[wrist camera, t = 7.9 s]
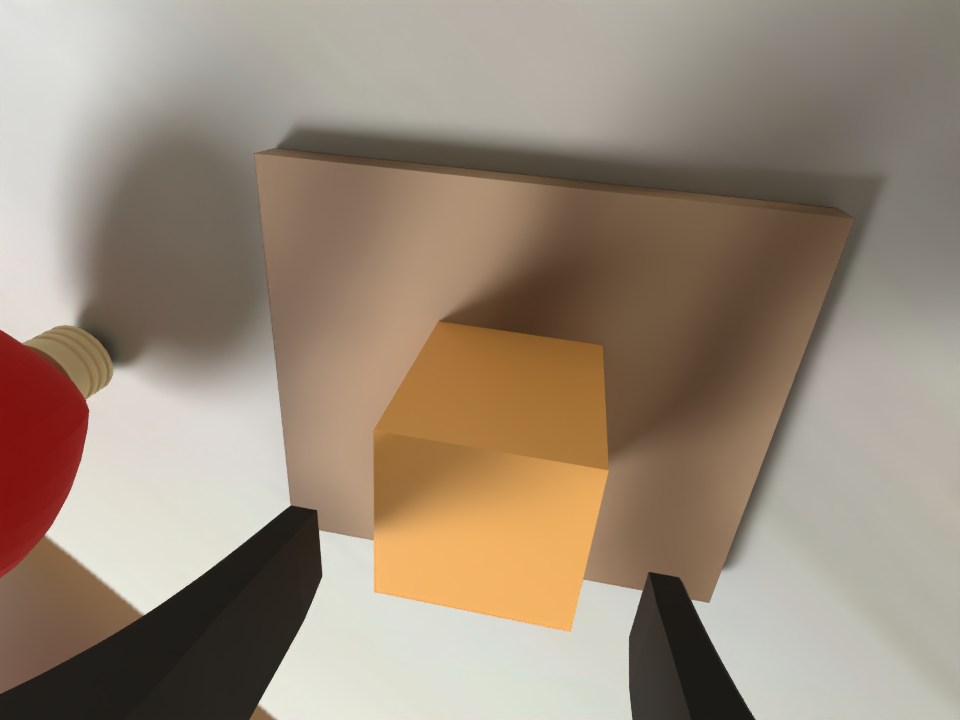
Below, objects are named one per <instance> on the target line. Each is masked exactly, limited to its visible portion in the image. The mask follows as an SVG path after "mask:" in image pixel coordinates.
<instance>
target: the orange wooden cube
mask: <svg viewBox="0 0 960 720" xmlns="http://www.w3.org/2000/svg"><path fill="white" fill-rule="evenodd" d="M373 443H374V592H377V593H382V594H387V595H392V596H397V597H402V598H406V599H411V600H416V601H421V602H426V603H431V604H436V605H441V606H446V607H451V608H456V609H461V610H466V611H470V612H475V613H480V614H485V615H490V616H495V617H500V618H505V619H510V620H515V621H520V622H525V623H530V624H534V625H539V626H544V627H549V628H554V629H559V630H564V631H569V632H571V628H572V624H573V620H574V615H575V611H576V607H577V603H578V598H579V594H580V590H581V586H582V581H583V577H584V573H585V569H586V564H587V560H588V556H589V552H590V548H591V543H592V539H593V535H594V531H595V526H596V522H597V518H598V514H599V509H600V505H601V501H602V497H603V492H604V488H605V484H606V480H607V476H608V471H609V466H608V445H607V424H606V403H605V381H604V360H603V345H597V344H590V343H583V342H577V341H570V340H563V339H556V338H549V337H543V336H536V335H529V334H522V333H515V332H508V331H502V330H495V329H488V328H481V327H474V326H467V325H461V324H454V323H447V322H440V321H438V323H437V324H436V326H435V328H434V329H433V331H432V333H431V335H430V336H429V338H428V340H427V341H426V343H425V345H424V346H423V348H422V350H421V351H420V353H419V355H418V356H417V358H416V360H415V361H414V363H413V365H412V366H411V368H410V370H409V371H408V373H407V375H406V376H405V378H404V380H403V381H402V383H401V385H400V387H399V388H398V390H397V392H396V393H395V395H394V397H393V398H392V400H391V402H390V403H389V405H388V407H387V408H386V410H385V412H384V413H383V415H382V417H381V418H380V420H379V422H378V423H377V425H376V427H375V428H374V430H373Z"/></svg>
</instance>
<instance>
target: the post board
mask: <svg viewBox="0 0 960 720" xmlns="http://www.w3.org/2000/svg"><path fill="white" fill-rule="evenodd" d="M254 158H255V167H256V177H257V187H258V196H259V206H260V215H261V225H262V234H263V244H264V254H265V263H266V273H267V282H268V292H269V302H270V311H271V321H272V330H273V340H274V350H275V359H276V369H277V378H278V388H279V397H280V407H281V417H282V426H283V436H284V445H285V455H286V465H287V474H288V484H289V493H290V503H291V505H292V506H298V507H303V508H309V509H314V510H317V513H318V526H319V530H321V531H326V532H332V533H337V534H343V535H348V536H353V537H359V538H364V539H369V540H374V443H373V430H374V428H375V427H376V425H377V423H378V422H379V420H380V418H381V417H382V415H383V413H384V412H385V410H386V408H387V407H388V405H389V403H390V402H391V400H392V398H393V397H394V395H395V393H396V392H397V390H398V388H399V387H400V385H401V383H402V381H403V380H404V378H405V376H406V375H407V373H408V371H409V370H410V368H411V366H412V365H413V363H414V361H415V360H416V358H417V356H418V355H419V353H420V351H421V350H422V348H423V346H424V345H425V343H426V341H427V340H428V338H429V336H430V335H431V333H432V331H433V329H434V328H435V326H436V324H437V323H438V321H440V322H447V323H454V324H461V325H467V326H474V327H481V328H488V329H495V330H502V331H508V332H515V333H522V334H529V335H536V336H543V337H549V338H556V339H563V340H570V341H577V342H583V343H590V344H597V345H603V360H604V381H605V403H606V424H607V445H608V466H609V471H608V476H607V480H606V484H605V488H604V492H603V497H602V501H601V505H600V509H599V514H598V518H597V522H596V526H595V531H594V535H593V539H592V543H591V548H590V552H589V556H588V560H587V564H586V569H585V573H584V577H583V579H584V580H589V581H595V582H600V583H605V584H611V585H616V586H621V587H627V588H632V589H638V590H643V589H644V586H645V582H646V579H647V575H648V572H653V573H659V574H664V575H670V576H675V577H679V578H680V579H681V581H682V582H683V584H684V586H685V588H686V590H687V593H688V595H689V597H690V599H691V600H697V601H702V602H707V603H709V602H710V599H711V597H712V594H713V592H714V589H715V586H716V584H717V581H718V578H719V576H720V573H721V570H722V568H723V565H724V563H725V560H726V557H727V555H728V552H729V549H730V547H731V544H732V541H733V539H734V536H735V534H736V531H737V528H738V526H739V523H740V520H741V518H742V515H743V512H744V510H745V507H746V505H747V502H748V499H749V497H750V494H751V491H752V489H753V486H754V483H755V481H756V478H757V476H758V473H759V470H760V468H761V465H762V462H763V460H764V457H765V454H766V452H767V449H768V447H769V444H770V441H771V439H772V436H773V433H774V431H775V428H776V425H777V423H778V420H779V418H780V415H781V412H782V410H783V407H784V404H785V402H786V399H787V397H788V394H789V391H790V389H791V386H792V383H793V381H794V378H795V375H796V373H797V370H798V368H799V365H800V362H801V360H802V357H803V354H804V352H805V349H806V346H807V344H808V341H809V339H810V336H811V333H812V331H813V328H814V325H815V323H816V320H817V317H818V315H819V312H820V310H821V307H822V304H823V302H824V299H825V296H826V294H827V291H828V288H829V286H830V283H831V281H832V278H833V275H834V273H835V270H836V267H837V265H838V262H839V259H840V257H841V254H842V252H843V249H844V246H845V244H846V241H847V238H848V236H849V233H850V230H851V228H852V225H853V223H854V220H855V218H853V217H851V216H850V215H848V214H846V213H844V212H843V211H841V210H839V209H837V208H830V207H821V206H812V205H802V204H793V203H783V202H774V201H765V200H755V199H746V198H737V197H727V196H718V195H708V194H699V193H690V192H680V191H671V190H662V189H652V188H643V187H633V186H624V185H615V184H605V183H596V182H587V181H577V180H568V179H558V178H549V177H540V176H530V175H521V174H511V173H502V172H493V171H483V170H474V169H465V168H455V167H446V166H436V165H427V164H418V163H408V162H399V161H390V160H380V159H371V158H361V157H352V156H343V155H333V154H324V153H314V152H305V151H296V150H286V149H277V148H274V149H270V150H266V151H262V152H258V153H254Z"/></svg>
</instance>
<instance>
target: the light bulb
mask: <svg viewBox="0 0 960 720" xmlns="http://www.w3.org/2000/svg"><path fill="white" fill-rule="evenodd" d="M112 375H113V366H112V361H111V359H110V356H109V354H108V352H107V351H106V348H105V346H104V345H103V344H102V343H101V342H100V341H99V340H97V339H96V338H95V337H94V336H92V335H91V334H89V333H88V332H86V331H84V330H82V329H80V328H77V327H74V326H67V325H64V326H57V327H54V328H53V329H51V330H49V331H46V332H44V333H43V334H41V335H38V336H36V337H34V338H33V339H31V340H28V341H26V342H24V343H20V342H19V341H17V340H16V339H14V338H13V337H11V336H10V335H8V334H6V333H5V332H3V331H1V330H0V578H1V577H2V576H4V575H5V574H7V573H8V572H9V571H10V570H12V569H13V568H14V567H15V566H16V565H17V564H19V563H20V562H21V561H22V560H23V559H24V558H25V557H26V556H27V554H28V553H29V552H30V551H31V550H32V549H33V548H34V546H35V545H36V544H37V543H38V542H39V541H40V540H41V538H42V537H43V536H44V535H45V534H46V532H47V531H48V530H49V528H50V527H51V525H52V524H53V522H54V520H55V519H56V517H57V515H58V513H59V511H60V510H61V508H62V506H63V504H64V502H65V500H66V499H67V497H68V494H69V492H70V490H71V488H72V485H73V482H74V479H75V476H76V473H77V470H78V467H79V464H80V461H81V458H82V453H83V448H84V444H85V439H86V434H87V429H88V417H89V409H88V406H87V404H86V399H87V398H89V397H90V396H91V395H92V394H95V393H96V392H98V391H99V390H100V389H102V388H104V387H105V386H107V385H108V383H109V382H110V380H111V378H112Z"/></svg>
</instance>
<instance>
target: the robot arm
mask: <svg viewBox="0 0 960 720" xmlns="http://www.w3.org/2000/svg"><path fill="white" fill-rule="evenodd" d="M321 578H322V565H321V552H320V539H319V526H318V513H317V510H314V509H309V508H303V507H298V506H292V505H291V506H290V507H288V508H287V509H286V510H284V511H283V512H282V513H281V514H279V515H278V516H277V517H276V518H274V519H273V520H272V521H271V522H269V523H268V524H267V525H266V526H264V527H263V528H262V529H261V530H260V531H258V532H257V533H256V534H255V535H253V536H252V537H251V538H250V539H248V540H247V541H246V542H245V543H243V544H242V545H241V546H240V547H238V548H237V549H236V550H235V551H233V552H232V553H231V554H229V555H228V556H227V557H225V558H224V559H223V560H221V561H220V562H219V563H218V564H216V565H215V566H214V567H212V568H211V569H210V570H208V571H207V572H206V573H204V574H203V575H202V576H200V577H199V578H198V579H196V580H195V581H193V582H192V583H191V584H189V585H188V586H186V587H185V588H184V589H182V590H181V591H179V592H178V593H176V594H175V595H174V596H172V597H171V598H169V599H168V600H167V601H165V602H164V603H162V604H161V605H159V606H158V607H156V608H155V609H153V610H152V611H150V612H149V613H147V614H146V615H144V616H142V617H141V618H139V619H138V620H136V621H135V622H133V623H131V624H130V625H128V626H127V627H125V628H123V629H122V630H120V631H119V632H117V633H115V634H114V635H112V636H110V637H108V638H107V639H105V640H103V641H102V642H100V643H98V644H97V645H95V646H93V647H91V648H89V649H87V650H85V651H83V652H82V653H80V654H78V655H76V656H74V657H73V658H71V659H69V660H67V661H65V662H63V663H61V664H60V665H58V666H56V667H54V668H52V669H50V670H48V671H47V672H45V673H43V674H41V675H39V676H37V677H35V678H33V679H31V680H29V681H26V682H25V683H22V684H20V685H18V686H16V687H14V688H12V689H10V690H8V691H6V692H4V693H2V694H0V720H249V719H250V717H251V716H252V714H253V712H254V710H255V708H256V707H257V705H258V703H259V701H260V699H261V698H262V696H263V694H264V692H265V690H266V689H267V687H268V685H269V683H270V681H271V680H272V678H273V676H274V674H275V672H276V671H277V669H278V667H279V665H280V663H281V662H282V660H283V658H284V656H285V654H286V653H287V651H288V649H289V647H290V645H291V644H292V642H293V640H294V638H295V636H296V634H297V633H298V631H299V629H300V627H301V625H302V623H303V621H304V619H305V617H306V615H307V612H308V610H309V608H310V605H311V603H312V601H313V598H314V596H315V593H316V591H317V588H318V586H319V583H320V581H321ZM629 691H630V700H631V710H632V719H633V720H755V718H754V716H753V715H752V713H751V712H750V710H749V708H748V707H747V705H746V703H745V702H744V700H743V698H742V696H741V695H740V693H739V691H738V690H737V688H736V686H735V684H734V682H733V681H732V679H731V677H730V675H729V673H728V672H727V670H726V668H725V666H724V664H723V663H722V661H721V659H720V657H719V655H718V653H717V652H716V650H715V648H714V646H713V644H712V642H711V640H710V638H709V636H708V634H707V632H706V630H705V628H704V626H703V624H702V622H701V620H700V618H699V616H698V614H697V612H696V610H695V608H694V606H693V603H692V601H691V599H690V597H689V595H688V593H687V590H686V588H685V586H684V584H683V582H682V581H681V579H680V578H679V577H675V576H670V575H664V574H659V573H653V572H648V575H647V579H646V582H645V586H644V589H643V592H642V596H641V599H640V602H639V606H638V609H637V612H636V616H635V619H634V623H633V626H632V629H631V633H630V636H629Z"/></svg>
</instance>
